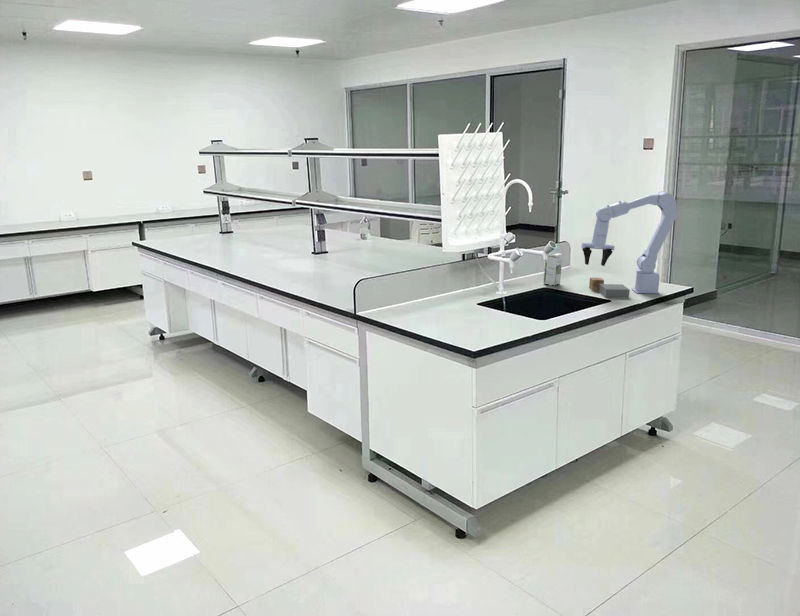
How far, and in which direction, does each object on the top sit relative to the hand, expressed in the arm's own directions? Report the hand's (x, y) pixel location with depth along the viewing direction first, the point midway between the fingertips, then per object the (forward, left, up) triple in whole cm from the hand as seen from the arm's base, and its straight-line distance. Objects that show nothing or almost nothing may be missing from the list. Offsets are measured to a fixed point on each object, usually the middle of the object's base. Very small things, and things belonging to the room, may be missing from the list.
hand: (594, 264), depth 286 cm
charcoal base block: (-7, +10, -12) cm, 17 cm away
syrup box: (+16, -9, -11) cm, 22 cm away
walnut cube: (-2, 0, -11) cm, 11 cm away
